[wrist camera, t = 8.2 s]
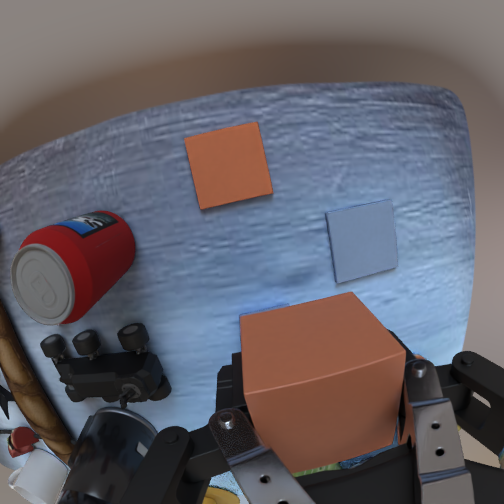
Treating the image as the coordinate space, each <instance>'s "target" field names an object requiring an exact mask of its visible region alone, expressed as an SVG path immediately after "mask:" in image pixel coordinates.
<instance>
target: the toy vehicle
mask: <svg viewBox="0 0 504 504" xmlns="http://www.w3.org/2000/svg"><path fill="white" fill-rule="evenodd" d="M117 336H118V339H119V341H120V343H121V345H122V347H123V349H124V350H127V351H131V352H123V353H115V354H107V355H100V354H99V352H98V349H99V348H100V346H101V343H100V340H99V338H98V335H97V333H96V332H95V331H94V330H87V331H84V332H81V333H79V334H78V335H76V336H75V337H74V338H73V340H72V342H73V344H74V347H75V349H76V351H77V352H78V354H79V355H88V357H81V358H70V359H64V356H63V354H62V352H63V351H64V350H65V348H66V346H65V344H64V342H63V340H62V338H61V336H60V335H59V334H54V335H51V336H49V337H47V338H45V339H44V340H43V341H42V342H41V343H40V346H41V348H42V350H43V352H44V354H45V356H46V357H48V358H51V357H53V358H51V359H52V361H53V363H54V365H55V367H56V369H57V371H58V372H59V374H60V376H61V377H60V382H62V383H65V384H66V385H67V386H66V387H65V391H66V393H67V395H68V397H69V398H70V400H71V401H73V402H80V401H83V400H84V399H86V398H89V397H102V398H103V399H104V401H106V402H109V403H111V402H116V401H118V400H119V399H120V404H121V408H122V409H125V408H126V407H127V403H128V402H130V403H132V402H133V403H135V402H145V401H147V400H148V399H150V400H152V401H159V400H162V399H164V398H166V397H167V396H168V395H169V394H170V393H171V386H170V384H169V382H168V380H167V378H166V376H164V375H162V372H163V368H162V366H161V364H160V361H159V359H158V357H157V356H156V355H155V354H153V353H151V352H148V351H147V348H146V344H147V343H148V341H149V336H148V333H147V331H146V328H145V326H144V325H143V324H142V323H133V324H130V325H127V326H125V327H123V328H122V329H120V330H119V331H118V333H117ZM132 350H135V351H132ZM136 351H137V353H136ZM94 353H96V354H94Z"/></svg>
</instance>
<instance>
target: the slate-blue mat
mask: <svg viewBox="0 0 504 504" xmlns="http://www.w3.org/2000/svg"><path fill="white" fill-rule="evenodd" d="M325 214H326V220H327V226H328V232H329V238H330V245H331V251H332V258H333V266H334V273H335V281H336V283H337V284H338V283H342V282H346V281H349V280H353V279H357V278H360V277H364V276H368V275H371V274H375V273H378V272H382V271H385V270H389V269H392V268H396V267H398V256H397V243H396V231H395V221H394V212H393V204H392V200H384V201H379V202H374V203H369V204H364V205H359V206H354V207H349V208H345V209H340V210H335V211H330V212H326V213H325Z"/></svg>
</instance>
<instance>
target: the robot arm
mask: <svg viewBox="0 0 504 504" xmlns="http://www.w3.org/2000/svg"><path fill="white" fill-rule="evenodd" d="M387 330H388V329H387ZM388 331H389V332H390V333H391V335H392V336H393V337H394V338H395V339H396V340H397V341H398V342H399V344H400V345H401V346H402V347H403V348H404V349H405V350H406V359H405V369H404V377H403V385H402V393H401V399H400V406H399V412H398V418H397V433H398V446H397V447H394V448H392V449H389V450H387V451H384V452H381V453H379V454H378V455H376V456H374V457H373V458H371V459H369V460H368V461H366V462H364V463H363V464H361V465H359V466H357V467H355V468H350V469H340V470H326V471H320V472H316V473H312V474H307V475H303V476H298V477H294V476H293V475H292V474H291V472H290V471H289V470H288V469H287V467H286V466H285V465H284V463H283V462H282V461H281V459H280V458H279V457H278V455H277V454H276V453H275V451H274V450H273V449H272V447H271V446H270V445H265V443H264V442H263V441H262V439H261V438H260V436H259V435H258V433H257V432H256V430H255V429H254V426H253V423H252V419H251V416H250V413H249V410H248V407H247V404H246V400H245V397H244V392H243V373H242V353H241V352H238V353H232V365H226V366H222V368H221V369H220V371H219V372H218V375H217V392H216V411H215V413H214V414H213V415H212V416H211V417H210V419H209V423H208V424H207V425H206V426H204V427H202V428H199V429H196V430H194V431H191V432H188V431H187V430H186V429H184V428H182V427H179V426H172V427H168V428H165V429H163V430H161V431H160V432H159V433H158V434H157V432H156V430H155V429H154V427H153V426H152V425H151V424H150V423H149V422H148V421H146V420H145V419H144V418H142V417H141V416H139V415H137V414H135V413H133V412H131V411H128V410H125V409H122V408H116V407H106V408H102V409H100V410H98V411H97V412H96V413H95V415H93V416H89V418H88V420H87V422H86V424H85V426H84V428H83V430H82V432H81V434H80V436H79V438H78V440H77V441H75V440H73V439H71V443H72V444H73V445H75V447H74V449H73V451H72V453H71V455H70V457H69V460H68V462H67V464H68V467H69V468H70V469H71V470H70V472H69V474H68V477H67V479H66V481H65V484H64V487H63V489H62V491H61V494H60V497H59V499H58V502H57V504H202V503H203V500H204V497H205V494H206V492H207V489H208V486H209V483H210V480H211V477H214V476H216V475H219V474H222V473H225V472H227V471H230V470H231V472H232V474H233V476H234V478H235V479H236V481H237V483H238V485H239V487H240V488H241V490H242V492H243V494H244V495H245V497H246V499H247V501H248V502H249V504H504V369H503V368H502V367H500V366H498V365H496V364H495V363H493V362H491V361H489V360H488V359H486V358H484V357H482V356H480V355H478V354H477V353H474V352H471V351H463V352H460V353H457V354H456V355H455V356H454V357H453V360H452V364H447V365H442V366H434V364H433V363H432V362H430V361H428V360H425V359H417V358H416V357H415V356H414V354H413V353H412V352H411V351H410V350H409V349H408V348H407V347H406V346H405V345H404V344H403V342H402V341H401V340H400V339H398V337H397V336H396V335H395V334H394V332H392V331H390V330H388ZM474 392H476V393H477V394H479V395H480V396H482V397H483V398H485V399H486V400H487V401H488V402H489V403H490V406H491V408H489V407H488V406H487V405H485V404H484V403H482V402H481V401H479V400H478V399H476V398H475V397H473V393H474ZM457 425H458V426H460V427H461V428H462V429H463V430H465V431H466V432H467V433H469V434H470V435H471V436H473V437H474V438H475V439H477V440H478V441H479V442H480V443H481V444H483V445H484V446H485V447H487V448H488V449H489V450H491V451H492V452H493V453H494V454H496V455H497V456H498V457H499V463H500V468H496V467H492V466H488V465H485V464H481V463H477V462H474V461H470V460H467V459H464V456H463V451H462V446H461V441H460V436H459V432H458V427H457ZM11 433H12V430H0V434H11ZM34 438H37V439H42V437H41V436H40V435H39V434H34Z"/></svg>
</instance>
